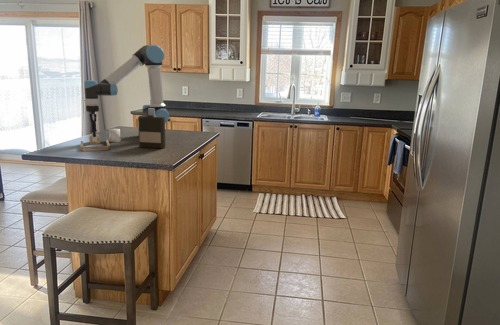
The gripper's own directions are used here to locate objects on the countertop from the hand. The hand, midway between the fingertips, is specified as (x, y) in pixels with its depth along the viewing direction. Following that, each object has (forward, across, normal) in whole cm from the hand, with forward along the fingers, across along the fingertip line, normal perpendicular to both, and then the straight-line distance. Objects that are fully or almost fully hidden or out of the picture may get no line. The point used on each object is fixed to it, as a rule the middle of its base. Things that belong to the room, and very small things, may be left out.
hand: (94, 141), depth 234 cm
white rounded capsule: (+2, -6, +13) cm, 15 cm away
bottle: (+2, +19, +34) cm, 38 cm away
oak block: (+2, -4, 0) cm, 4 cm away
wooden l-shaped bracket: (+2, +9, 0) cm, 10 cm away
